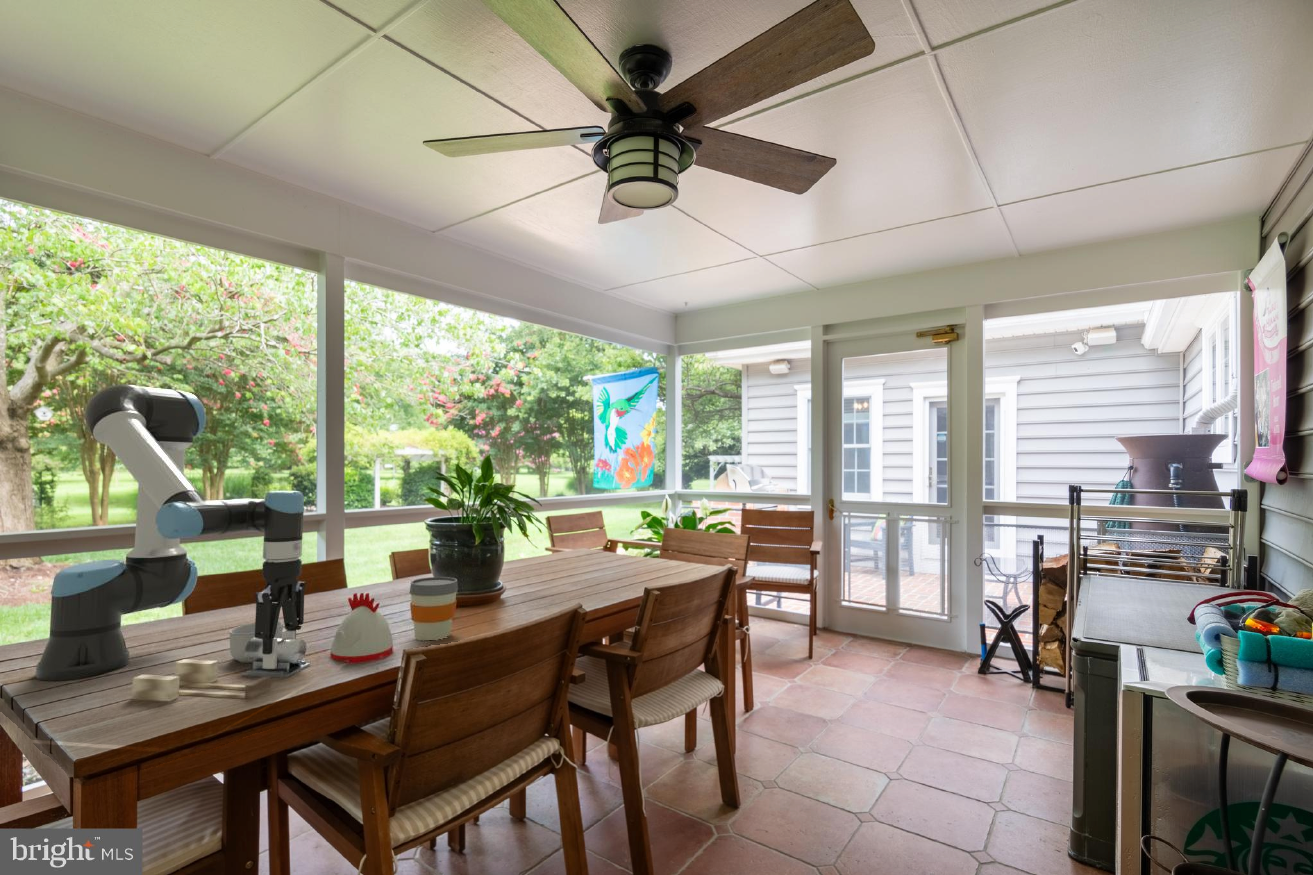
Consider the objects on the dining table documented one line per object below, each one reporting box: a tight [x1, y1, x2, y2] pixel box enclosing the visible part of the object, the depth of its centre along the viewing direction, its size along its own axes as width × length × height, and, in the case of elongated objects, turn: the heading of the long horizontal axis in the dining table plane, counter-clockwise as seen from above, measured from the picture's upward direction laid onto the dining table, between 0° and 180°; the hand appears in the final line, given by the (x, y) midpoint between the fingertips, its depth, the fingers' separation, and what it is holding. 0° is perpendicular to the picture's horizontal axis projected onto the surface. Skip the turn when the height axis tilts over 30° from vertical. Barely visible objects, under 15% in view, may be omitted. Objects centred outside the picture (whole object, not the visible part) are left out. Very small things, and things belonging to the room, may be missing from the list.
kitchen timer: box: [329, 592, 394, 664], centre depth 149 cm, size 14×14×15 cm
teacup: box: [228, 619, 284, 663], centre depth 145 cm, size 14×11×8 cm
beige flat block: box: [131, 658, 272, 702], centre depth 122 cm, size 22×12×4 cm, turn 85°
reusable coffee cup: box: [409, 576, 459, 642], centre depth 165 cm, size 13×13×15 cm
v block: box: [242, 660, 311, 679], centre depth 135 cm, size 10×8×3 cm
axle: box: [244, 638, 307, 663], centre depth 135 cm, size 11×5×5 cm, turn 85°
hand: (278, 663), depth 135 cm, fingers closed on axle, 5 cm apart
